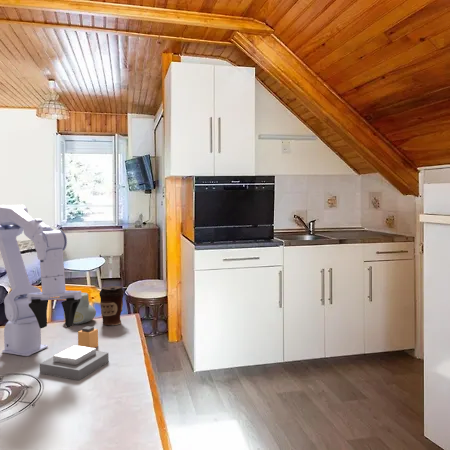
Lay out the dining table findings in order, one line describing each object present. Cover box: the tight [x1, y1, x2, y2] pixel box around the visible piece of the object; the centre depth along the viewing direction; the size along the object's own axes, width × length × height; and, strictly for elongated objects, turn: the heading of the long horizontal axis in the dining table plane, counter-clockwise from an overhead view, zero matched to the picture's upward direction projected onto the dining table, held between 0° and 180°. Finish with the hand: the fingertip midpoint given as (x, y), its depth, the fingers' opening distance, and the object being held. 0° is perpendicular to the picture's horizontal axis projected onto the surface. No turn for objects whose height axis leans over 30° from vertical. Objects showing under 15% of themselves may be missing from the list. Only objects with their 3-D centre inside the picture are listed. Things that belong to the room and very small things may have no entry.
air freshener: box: [63, 292, 97, 325], centre depth 144 cm, size 11×8×10 cm
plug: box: [77, 325, 99, 348], centre depth 119 cm, size 4×4×6 cm
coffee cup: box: [99, 285, 125, 326], centre depth 142 cm, size 9×8×13 cm
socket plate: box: [39, 350, 109, 381], centre depth 105 cm, size 12×12×2 cm
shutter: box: [52, 344, 97, 365], centre depth 105 cm, size 7×8×2 cm
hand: (56, 327), depth 106 cm, fingers open, 7 cm apart
